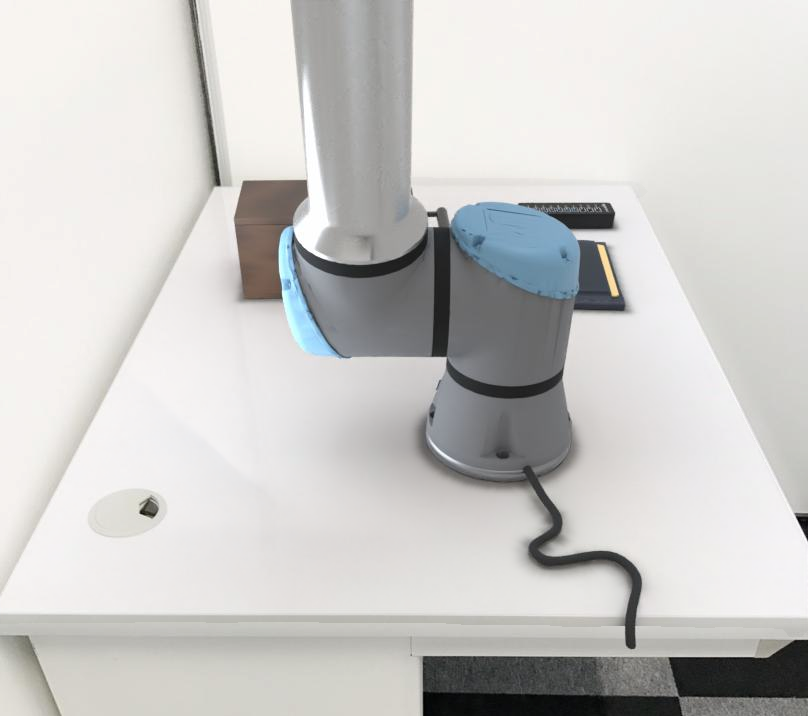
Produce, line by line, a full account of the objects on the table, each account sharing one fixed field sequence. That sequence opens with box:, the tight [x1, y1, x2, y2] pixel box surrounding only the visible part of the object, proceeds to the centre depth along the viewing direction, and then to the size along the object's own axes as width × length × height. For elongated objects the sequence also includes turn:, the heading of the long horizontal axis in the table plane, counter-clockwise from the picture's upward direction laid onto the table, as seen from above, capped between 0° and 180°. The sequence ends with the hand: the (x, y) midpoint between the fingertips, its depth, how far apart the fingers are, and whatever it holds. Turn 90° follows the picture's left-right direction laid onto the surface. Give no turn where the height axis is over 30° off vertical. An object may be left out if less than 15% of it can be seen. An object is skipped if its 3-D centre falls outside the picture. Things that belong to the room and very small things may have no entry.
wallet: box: [574, 239, 626, 311], centre depth 118 cm, size 20×2×15 cm
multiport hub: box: [517, 202, 616, 229], centre depth 131 cm, size 4×14×2 cm, turn 92°
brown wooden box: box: [233, 179, 308, 300], centre depth 114 cm, size 15×13×11 cm
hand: (377, 192), depth 109 cm, fingers open, 11 cm apart
